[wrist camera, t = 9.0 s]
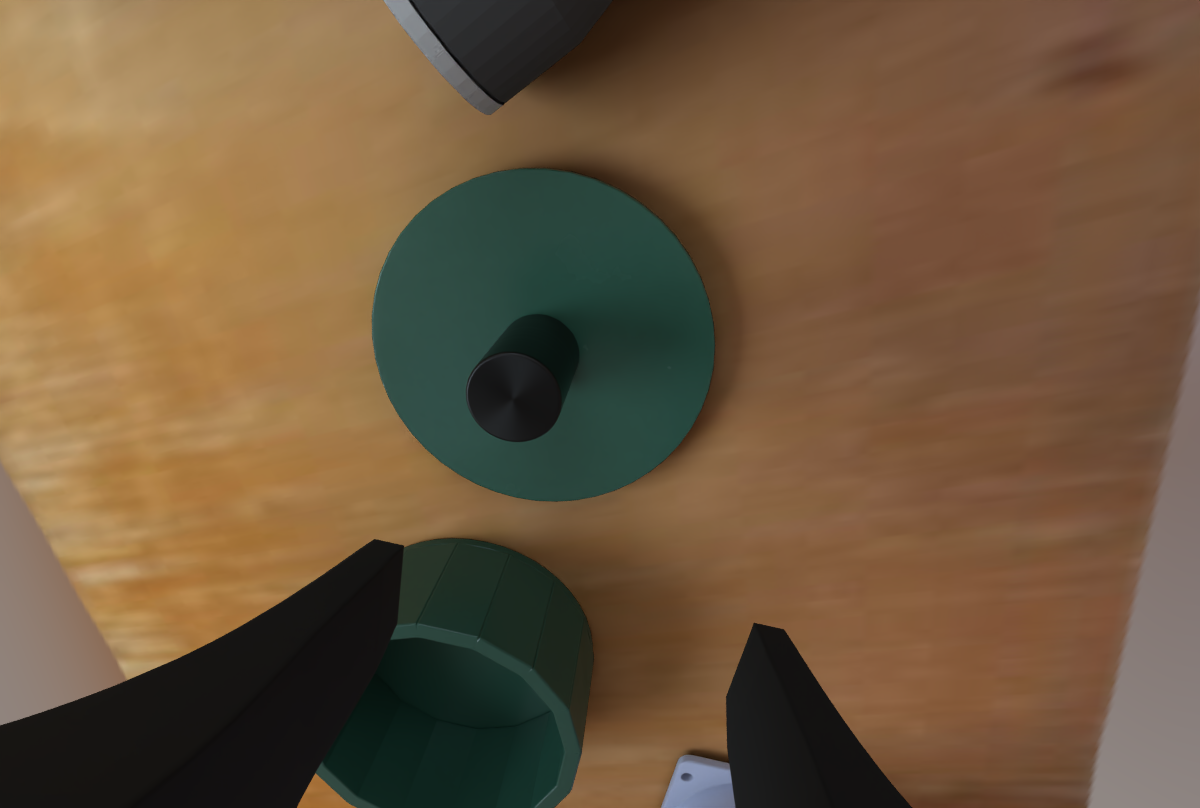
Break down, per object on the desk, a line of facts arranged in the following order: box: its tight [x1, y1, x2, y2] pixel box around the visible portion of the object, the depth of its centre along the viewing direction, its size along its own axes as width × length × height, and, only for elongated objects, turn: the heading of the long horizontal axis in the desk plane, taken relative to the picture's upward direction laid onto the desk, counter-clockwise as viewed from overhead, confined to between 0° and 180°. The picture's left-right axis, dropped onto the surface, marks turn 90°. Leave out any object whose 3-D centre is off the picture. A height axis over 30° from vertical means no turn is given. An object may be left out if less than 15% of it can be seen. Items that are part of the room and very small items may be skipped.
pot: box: [316, 538, 594, 808], centre depth 24 cm, size 10×10×5 cm
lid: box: [372, 168, 715, 502], centre depth 19 cm, size 11×11×5 cm
